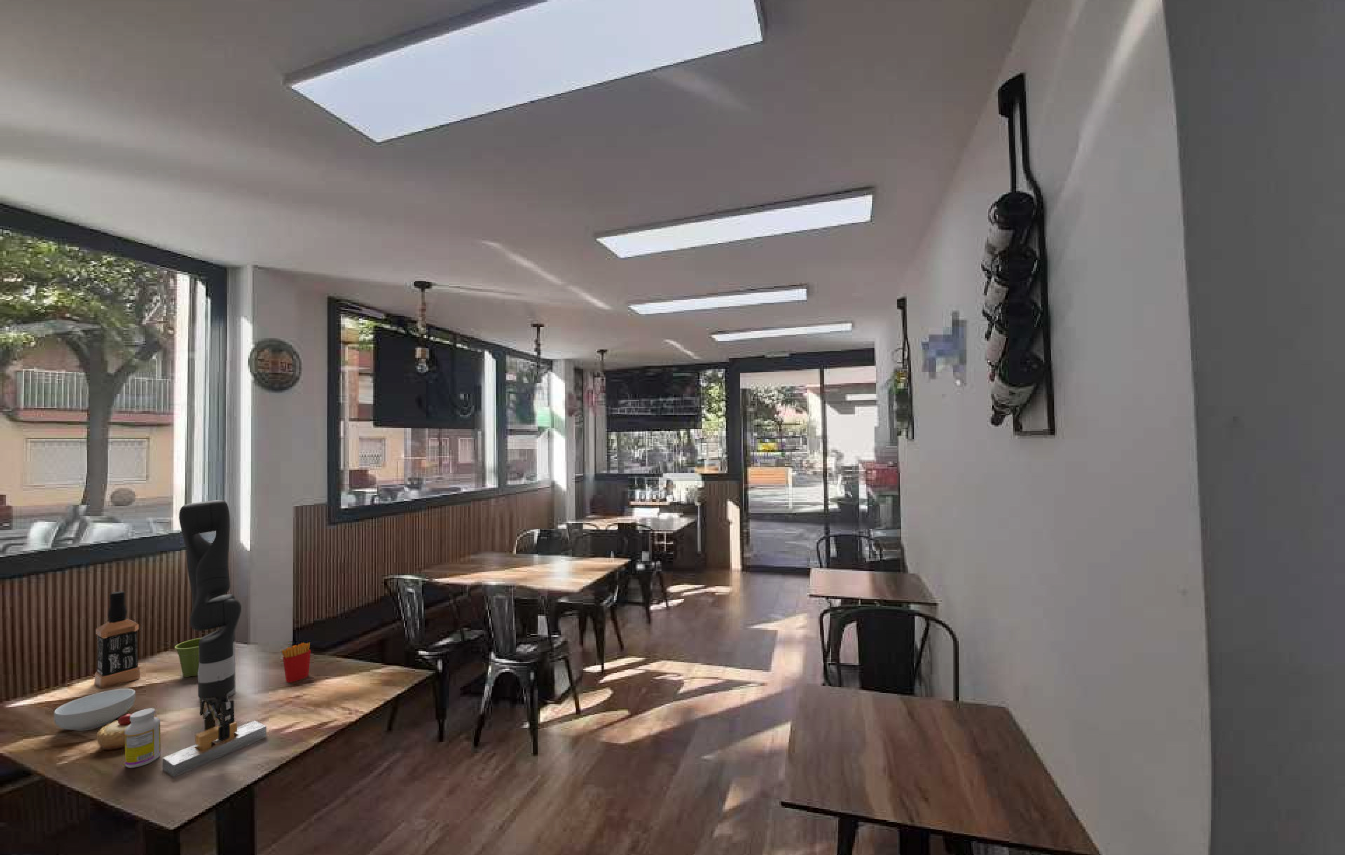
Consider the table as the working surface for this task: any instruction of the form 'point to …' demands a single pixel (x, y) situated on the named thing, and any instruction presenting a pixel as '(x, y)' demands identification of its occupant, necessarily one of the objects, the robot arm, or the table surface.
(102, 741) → the pastry
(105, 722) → the cereal bowl
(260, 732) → the rail
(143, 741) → the supplement bottle
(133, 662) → the whiskey bottle
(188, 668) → the plant pot
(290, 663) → the french fries
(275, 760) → the table surface
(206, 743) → the ochre wooden block
